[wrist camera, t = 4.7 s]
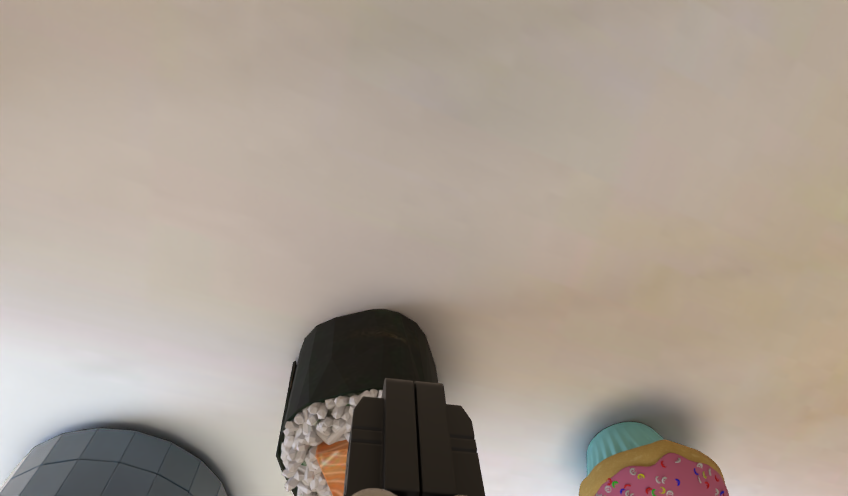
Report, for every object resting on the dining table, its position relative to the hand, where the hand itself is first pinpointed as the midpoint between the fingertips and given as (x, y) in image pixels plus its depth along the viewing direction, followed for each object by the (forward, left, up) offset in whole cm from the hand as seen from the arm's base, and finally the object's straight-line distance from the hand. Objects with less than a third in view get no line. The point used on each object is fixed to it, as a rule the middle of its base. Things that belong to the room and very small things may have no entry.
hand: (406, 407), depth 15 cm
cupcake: (+15, +17, -16) cm, 28 cm away
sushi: (+11, 0, -16) cm, 19 cm away
